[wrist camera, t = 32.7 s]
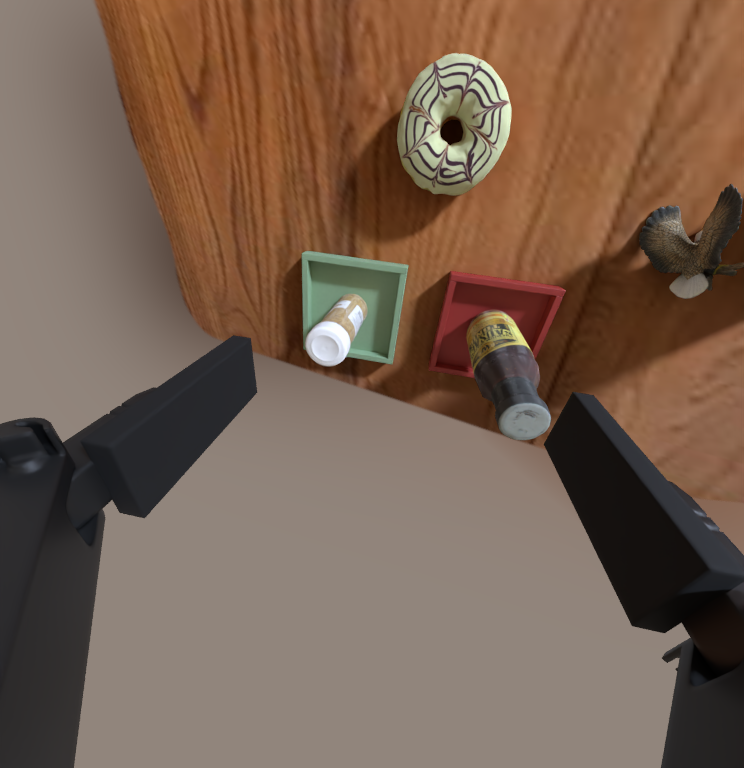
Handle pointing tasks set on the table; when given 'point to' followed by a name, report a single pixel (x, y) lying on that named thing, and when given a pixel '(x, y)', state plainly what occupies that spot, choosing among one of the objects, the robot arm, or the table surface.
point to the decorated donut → (456, 102)
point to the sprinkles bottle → (336, 331)
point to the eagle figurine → (692, 244)
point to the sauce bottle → (507, 375)
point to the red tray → (482, 293)
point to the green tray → (361, 277)
